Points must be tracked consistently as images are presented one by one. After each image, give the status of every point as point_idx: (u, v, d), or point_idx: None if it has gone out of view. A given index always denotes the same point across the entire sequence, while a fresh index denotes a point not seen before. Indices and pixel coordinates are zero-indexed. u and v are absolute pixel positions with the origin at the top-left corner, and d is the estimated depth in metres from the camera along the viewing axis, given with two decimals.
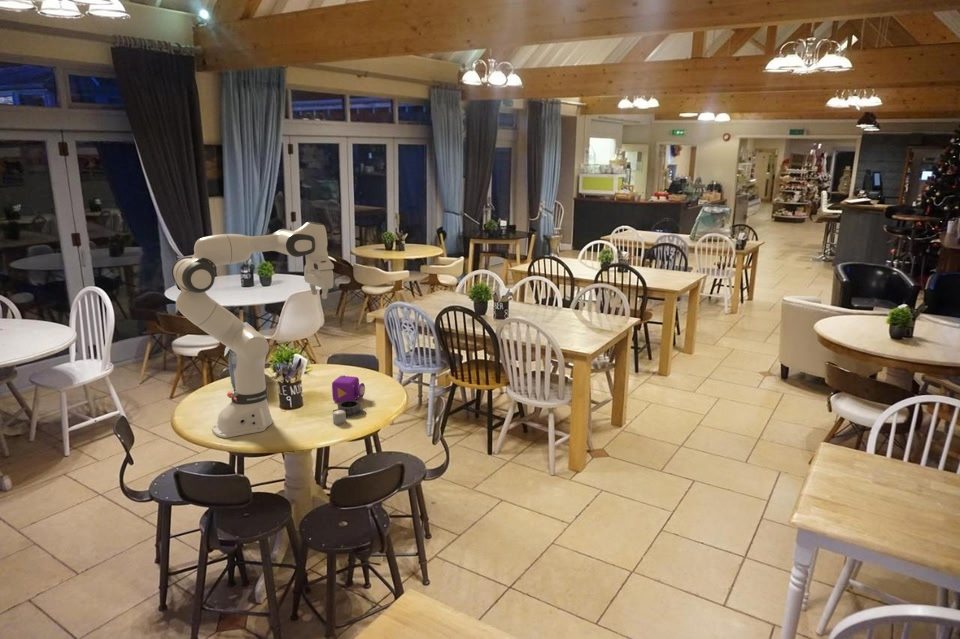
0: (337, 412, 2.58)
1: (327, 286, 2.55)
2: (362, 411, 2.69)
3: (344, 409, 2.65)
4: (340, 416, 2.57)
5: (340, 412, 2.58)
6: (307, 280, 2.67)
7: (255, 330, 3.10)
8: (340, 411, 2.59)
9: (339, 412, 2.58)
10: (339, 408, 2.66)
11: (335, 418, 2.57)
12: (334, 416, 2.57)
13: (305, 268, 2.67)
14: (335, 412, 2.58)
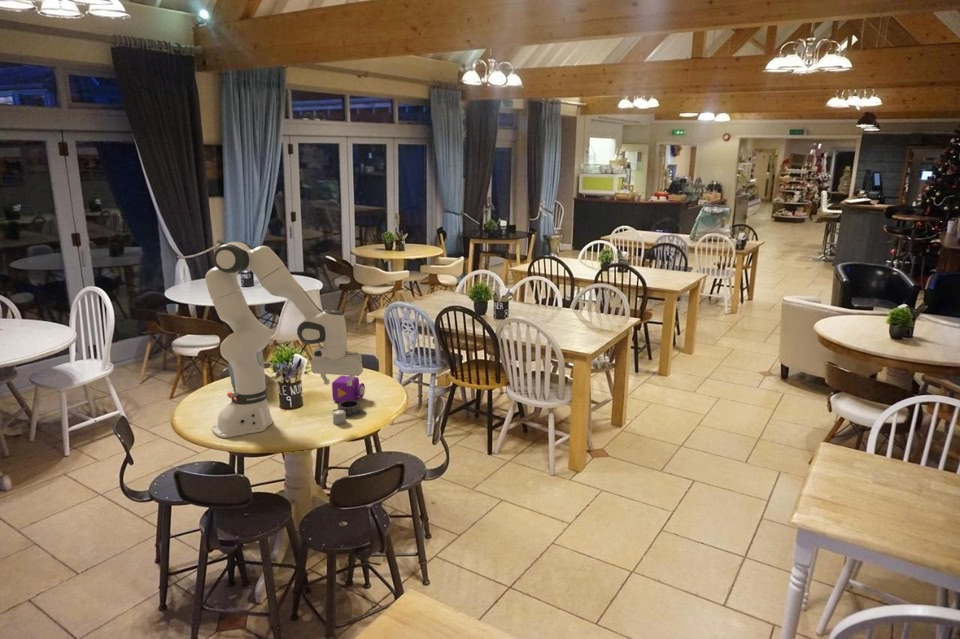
0: (337, 412, 2.58)
1: None
2: (362, 411, 2.69)
3: (344, 409, 2.65)
4: (340, 416, 2.57)
5: (340, 412, 2.58)
6: None
7: None
8: (340, 411, 2.59)
9: (339, 412, 2.58)
10: (339, 408, 2.66)
11: (335, 418, 2.57)
12: (334, 416, 2.57)
13: None
14: (335, 412, 2.58)
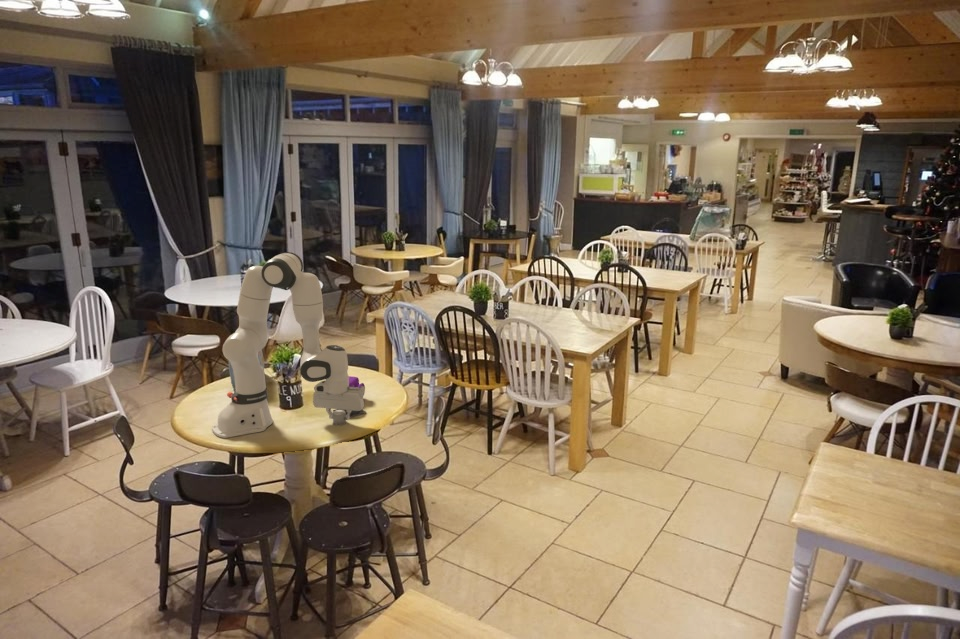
0: (337, 412, 2.58)
1: None
2: (362, 411, 2.69)
3: None
4: (340, 416, 2.57)
5: (340, 412, 2.58)
6: None
7: None
8: (340, 411, 2.59)
9: (339, 412, 2.58)
10: None
11: (335, 418, 2.57)
12: (334, 416, 2.57)
13: None
14: (335, 412, 2.58)
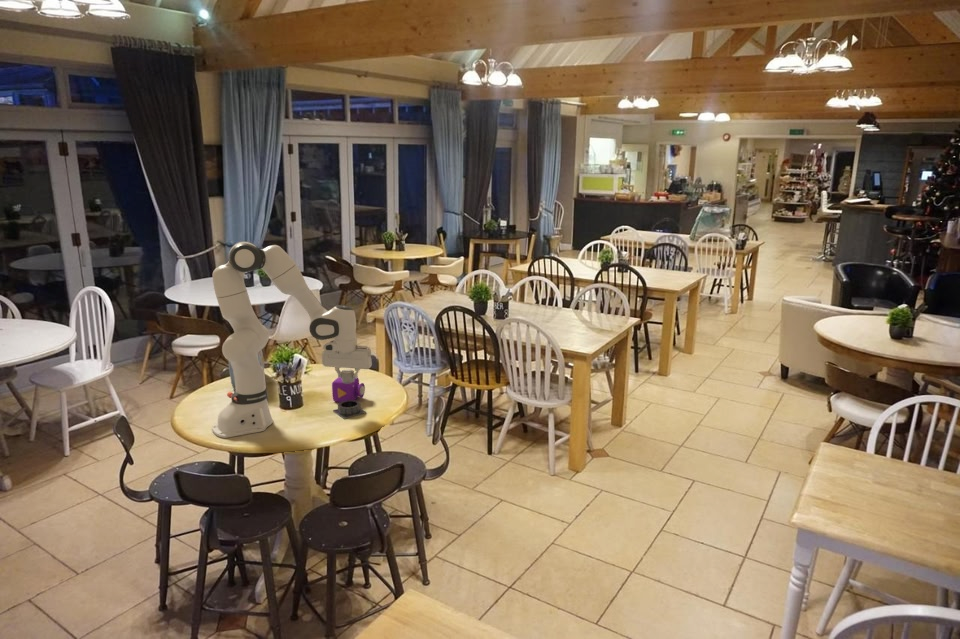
0: (345, 371, 2.65)
1: None
2: (362, 411, 2.69)
3: (344, 409, 2.65)
4: (348, 374, 2.63)
5: (348, 371, 2.65)
6: None
7: None
8: (348, 370, 2.66)
9: (348, 371, 2.65)
10: (339, 408, 2.66)
11: (344, 376, 2.63)
12: (343, 374, 2.64)
13: None
14: (343, 371, 2.65)
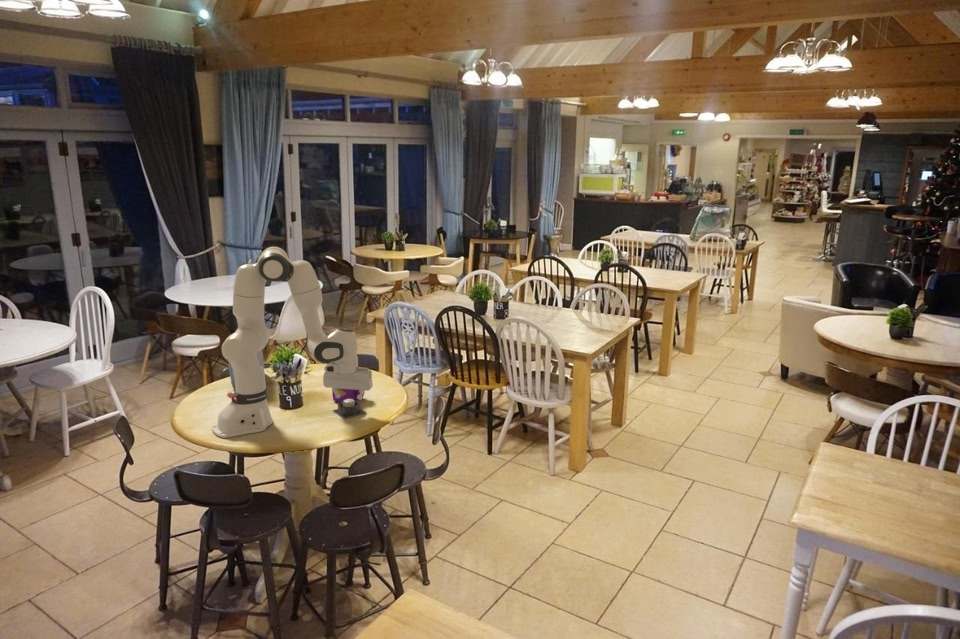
0: (347, 401, 2.68)
1: None
2: (362, 411, 2.69)
3: (344, 409, 2.65)
4: (349, 405, 2.67)
5: (350, 401, 2.68)
6: None
7: None
8: (349, 400, 2.69)
9: (349, 401, 2.68)
10: (339, 408, 2.66)
11: (345, 406, 2.67)
12: (344, 404, 2.67)
13: None
14: (345, 401, 2.68)
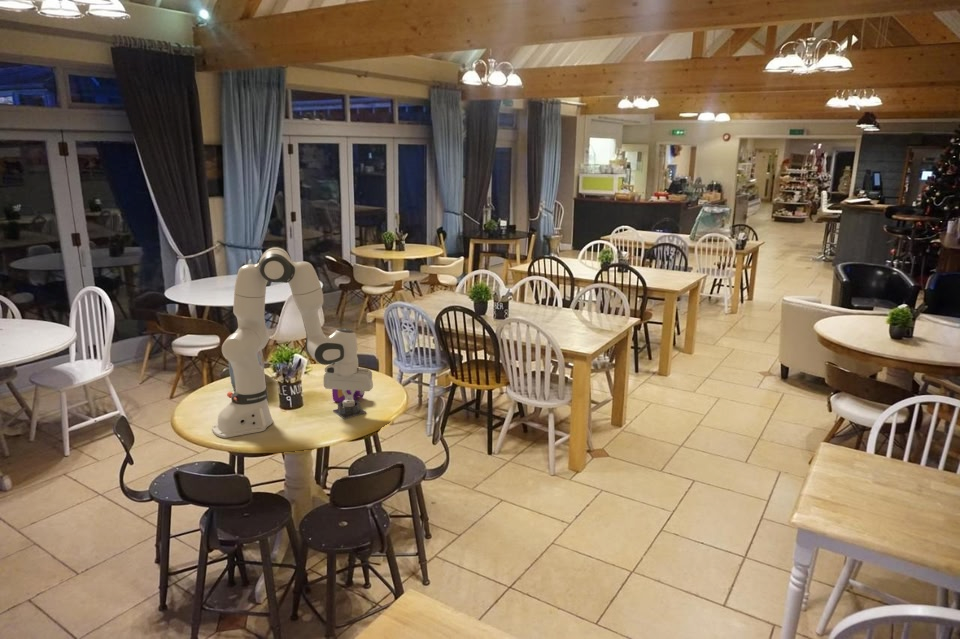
0: (347, 401, 2.68)
1: None
2: (362, 411, 2.69)
3: (344, 409, 2.65)
4: (349, 405, 2.67)
5: (350, 401, 2.68)
6: None
7: None
8: (349, 400, 2.69)
9: (349, 401, 2.68)
10: (339, 408, 2.66)
11: (345, 406, 2.67)
12: (344, 404, 2.67)
13: None
14: (345, 401, 2.68)
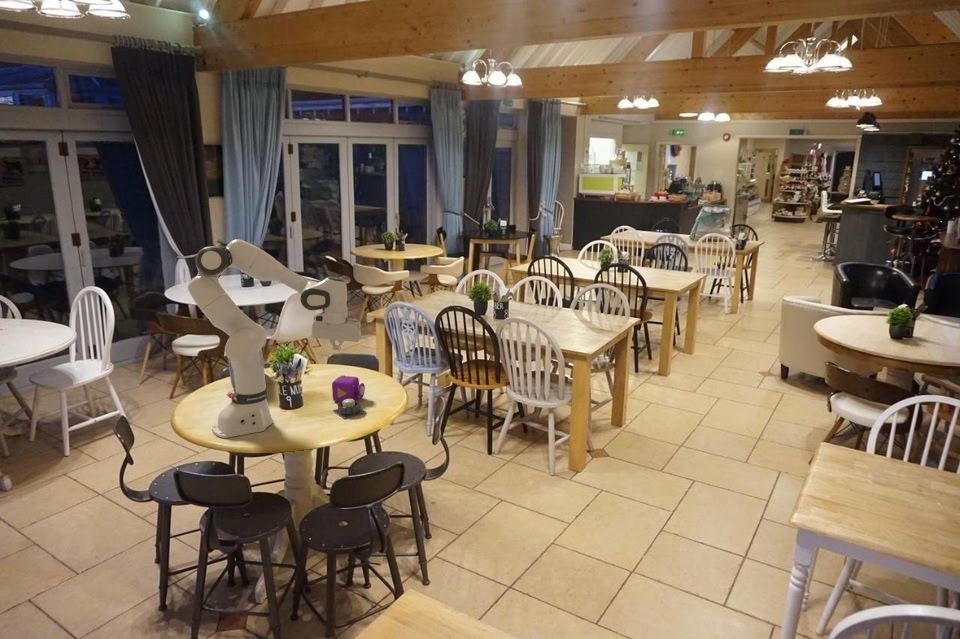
0: (347, 401, 2.68)
1: None
2: (362, 411, 2.69)
3: (344, 409, 2.65)
4: (349, 405, 2.67)
5: (350, 401, 2.68)
6: None
7: None
8: (349, 400, 2.69)
9: (349, 401, 2.68)
10: (339, 408, 2.66)
11: (345, 406, 2.67)
12: (344, 404, 2.67)
13: None
14: (345, 401, 2.68)
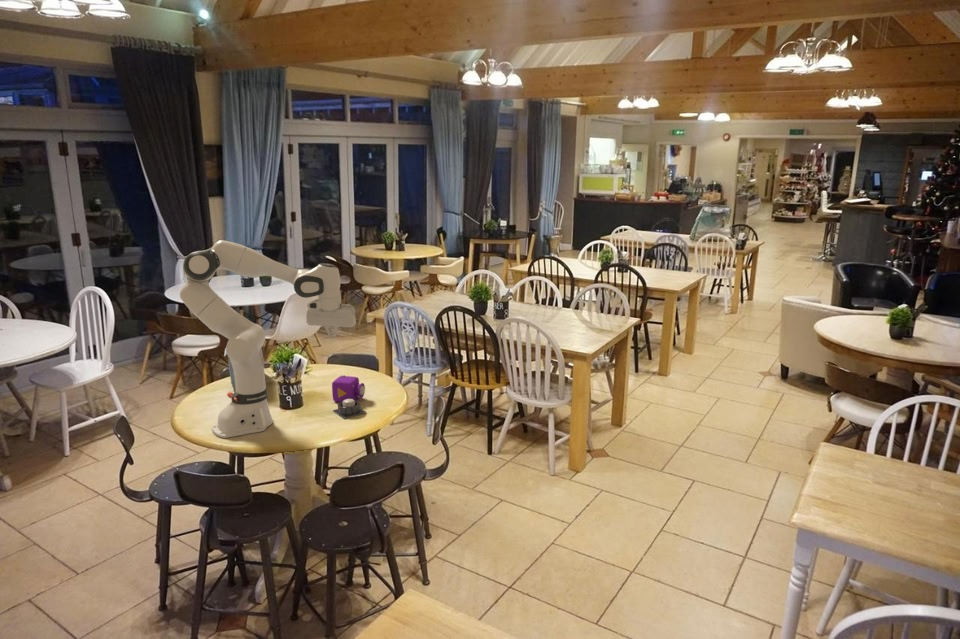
0: (347, 401, 2.68)
1: None
2: (362, 411, 2.69)
3: (344, 409, 2.65)
4: (349, 405, 2.67)
5: (350, 401, 2.68)
6: None
7: None
8: (349, 400, 2.69)
9: (349, 401, 2.68)
10: (339, 408, 2.66)
11: (345, 406, 2.67)
12: (344, 404, 2.67)
13: None
14: (345, 401, 2.68)
